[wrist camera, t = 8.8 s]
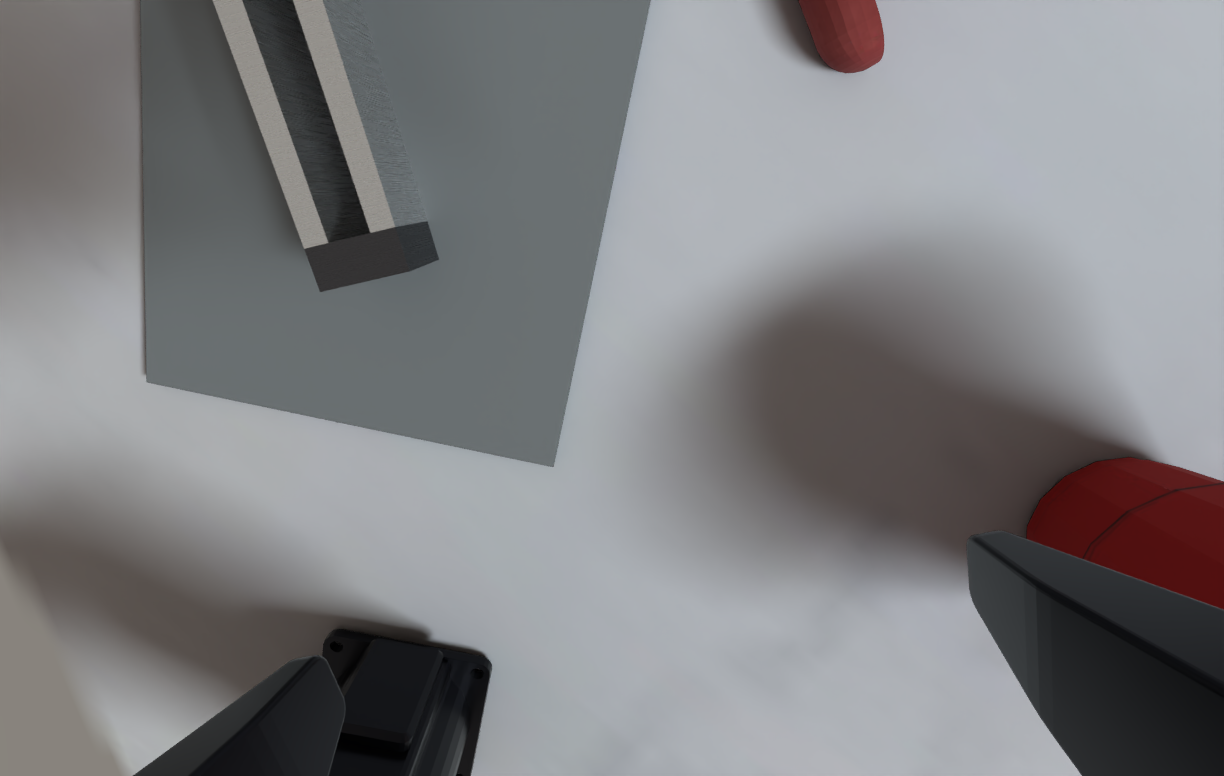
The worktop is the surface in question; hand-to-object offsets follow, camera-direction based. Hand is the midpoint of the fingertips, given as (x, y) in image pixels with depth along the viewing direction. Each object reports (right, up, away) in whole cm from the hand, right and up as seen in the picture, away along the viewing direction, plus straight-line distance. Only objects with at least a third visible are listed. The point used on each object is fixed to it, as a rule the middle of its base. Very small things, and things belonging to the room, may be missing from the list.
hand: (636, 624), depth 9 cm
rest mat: (-7, +10, +10) cm, 16 cm away
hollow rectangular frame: (-7, +7, +10) cm, 14 cm away
